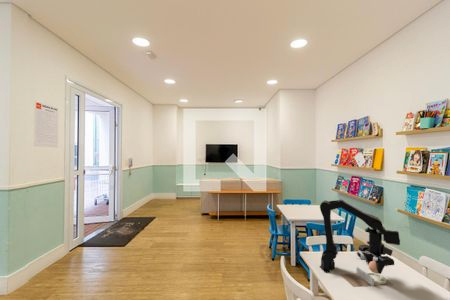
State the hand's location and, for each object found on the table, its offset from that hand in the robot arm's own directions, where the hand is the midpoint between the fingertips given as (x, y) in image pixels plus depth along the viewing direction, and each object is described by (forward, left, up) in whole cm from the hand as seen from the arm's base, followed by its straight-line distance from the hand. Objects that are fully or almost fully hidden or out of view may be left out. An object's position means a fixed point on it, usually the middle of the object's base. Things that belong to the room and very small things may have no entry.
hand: (375, 270), depth 121 cm
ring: (0, 0, -4) cm, 4 cm away
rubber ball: (0, 0, +2) cm, 2 cm away
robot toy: (+13, +21, -6) cm, 25 cm away
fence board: (-5, 0, -5) cm, 8 cm away
